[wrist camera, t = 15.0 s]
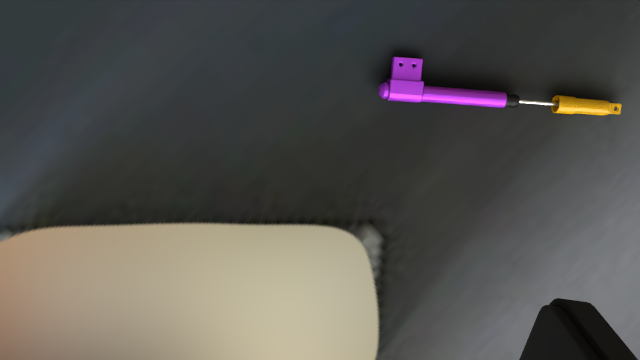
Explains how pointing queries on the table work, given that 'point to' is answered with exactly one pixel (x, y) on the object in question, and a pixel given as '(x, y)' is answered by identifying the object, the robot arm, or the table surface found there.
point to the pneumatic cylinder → (474, 93)
